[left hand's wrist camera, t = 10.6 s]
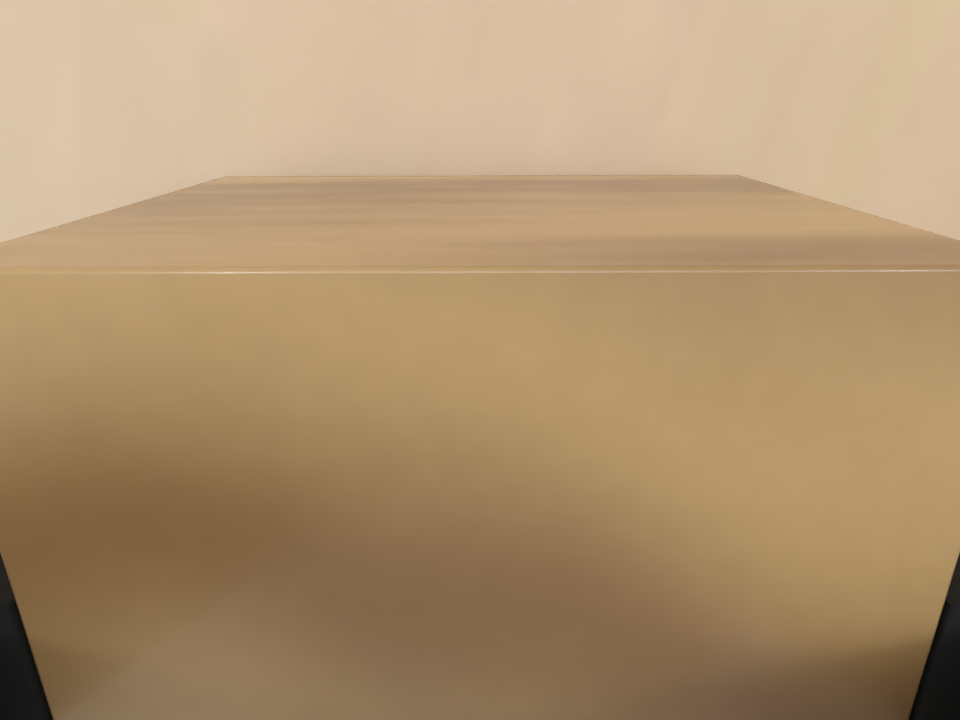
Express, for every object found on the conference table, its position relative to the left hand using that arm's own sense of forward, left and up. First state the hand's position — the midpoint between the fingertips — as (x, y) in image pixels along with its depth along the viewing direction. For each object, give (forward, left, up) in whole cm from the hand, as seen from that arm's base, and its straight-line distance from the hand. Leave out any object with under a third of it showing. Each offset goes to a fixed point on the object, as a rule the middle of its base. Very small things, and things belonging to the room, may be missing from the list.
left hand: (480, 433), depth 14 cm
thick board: (+24, -17, -1) cm, 30 cm away
